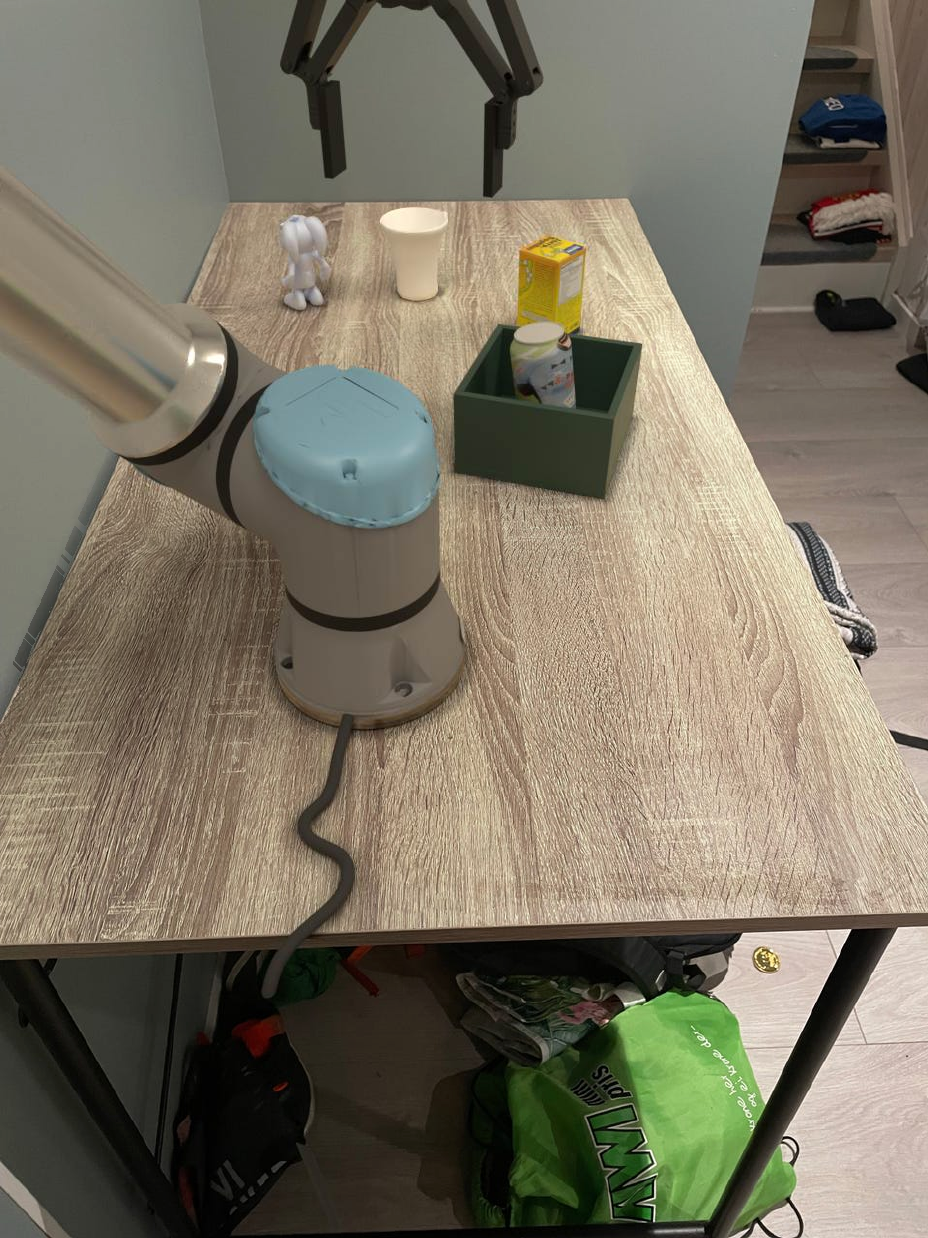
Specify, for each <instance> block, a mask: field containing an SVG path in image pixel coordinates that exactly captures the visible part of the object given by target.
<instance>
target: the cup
mask: <svg viewBox="0 0 928 1238" xmlns="http://www.w3.org/2000/svg"><path fill="white" fill-rule="evenodd" d="M448 218H449V213H448V211H446V210H443V211H441V210H438V209H434V208H431V207H420V206H417V207H416V206H410V207H409V206H408V207H401V208H395V209H393V210H390V211H387V212H386V213H384V214H382V216H381V217H380V219H379V226H380V228H381V230H382V232H383V234H384V236H385V237H386V240H387V242H388V245H389V249H390V254H391V256H392V260H393V263H394V270H395V275H396V283H397V284H396V285H397V287H396V288H397V293H398V295H399V296H400V297H401V298H402V299H404V300H407V301H410V302H411V301H412V302H415V301H416V302H420V301H426V300H430V299H433V298H434V297H436V296H437V294H438V292H439V284H438V269H439V266H438V265H439V264H438V263H439V254H440V250H441V244H442V240H443V237H444V235H445V232H446V229H447V228H448V225H449V219H448Z"/></svg>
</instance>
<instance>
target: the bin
mask: <svg viewBox="0 0 928 1238" xmlns="http://www.w3.org/2000/svg"><path fill="white" fill-rule="evenodd" d="M519 328H520V327H519V326H517V325H513V324H512V325H511V324H503V323H497V325H496V326H495V328H494V329H493V331H492V332H491V334H490V335H489V337H488V339H487V340H486V342H485V344H483V347H482V348H481V350H479V351H480V352H479V353H478V354H477V356H476V358H475V359H474V361H473V362H472V364H471V366H470V367H469V368H468V370H467V372H466V374H465V375H464V377H463V378H462V379H461V381H460V382H459V385H458V386H457V387H456V389H455V391H454V392H453V394H452V397H453V398H452V400H453V401H452V402H453V405H452V406H453V459H454V460H453V463H454V466H453V467H454V469H453V471H454V473H456V474H462V475H467V476H473V477H479V478H484V479H490V480H495V481H502V482H507V483H513V484H518V485H523V486H524V485H525V486H530V487H535V488H540V489H546V490H552V491H558V492H563V493H569V494H575V495H580V496H586V497H591V498H597V499H603V500H605V498H606V495H607V493H608V490H609V487H610V484H611V481H612V478H613V475H614V473H615V469H616V467H617V464H618V461H619V458H620V456H621V452H622V449H623V446H624V444H625V441H626V438H627V435H628V433H629V429H630V427H631V424H632V421H633V417H634V416H633V415H634V410H635V402H636V394H637V389H638V388H637V386H638V380H639V373H640V365H641V359H642V351H643V342H642V343H641V342H634V341H627V340H621V339H612V338H606V337H597V336H590V335H584V334H577V333H576V334H570V333H566V334H567V335H568V336H569V338H570V340H571V346H572V359H573V372H574V385H575V398H576V409H572V408H566V407H559V406H553V405H547V404H540V403H534V402H527V401H521V400H516V395H515V387H514V379H513V371H512V363H511V355H510V346H511V343H512V341H513V340H514V333H515V332H516V330H517V329H519Z"/></svg>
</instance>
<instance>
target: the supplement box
mask: <svg viewBox="0 0 928 1238" xmlns="http://www.w3.org/2000/svg"><path fill="white" fill-rule="evenodd" d="M586 253H587V246H586V245H584V244H581V243H577V242H575V241H570V240H567V239H563V238H560V237H557V236H554V235H549V234H547V235H545V236H543V237H541V238H539V239H538V240H537V239H536V241H533V242H532V243H530V244H528V245H526V246H523V247H522V248H519V250H518V281H517V282H518V283H517V285H518V286H517V315H516V316H517V318H516V326H519V327H522V326H525V325H527V324H530V323H535V322H543V321H548V322H556V323H559V324H561V325H562V326H563V327H564V332H565V333H570V334H577V333H579V332H580V330H581V329H580V328H581V317H582V305H583V304H582V303H583V291H584V281H585V280H584V279H585V266H586V256H587V255H586Z"/></svg>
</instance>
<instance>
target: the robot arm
mask: <svg viewBox="0 0 928 1238" xmlns="http://www.w3.org/2000/svg"><path fill="white" fill-rule="evenodd" d="M327 1H328V0H296V5H295V7H294V11H293V15H292V17H291V22H290V26H289V30H288V33H287V35H286V40H285V43H284V48H283V50H282V53H281V58H280V59H279V66H280V69H281V71H282V72H283V73H284V74H286V75H293V76H295V77H297V78H298V79H300V80H302V82H303V83H304V85H305V89H306V98H307V108H308V116H309V117H308V118H309V124H310V126H311V128H312V130H315V131H319V134H320V144H321V155H322V164H323V165H322V166H323V177H324V179H330V180H333V179H335V178H336V177H338V176H339V175H340V174H342V173H343V172H345V171H346V170H348V169H347V168H348V167H347V156H346V144H345V131H344V130H345V129H344V118H343V106H342V105H343V104H342V92H341V91H342V90H341V81H340V80H335V79H330V80H328V78H330V77H332V75H333V73H332V72H333V70H334V69H335V67H336V66H337V64H338V63H339V61H340V59H341V57H342V56H343V55H344V53H345V51H346V50H347V48H348V47H349V44H351V41H352V40H353V38H354V37H355V35H356V34H357V32H358V31H359V29H360V27H361V25H362V24H363V22H364V21H365V20H366V18H367V16H368V14H369V13H370V12H371V10H372V9H373V8H374V7H375V5H376V4H379V5H380V7H381V9H394V8H398V7H403V8H406V9H409V10H411V11H422V12H423V11H424V10H426V9H428V8H430V7H431V8H432V10H433V11H434V12H435V14H436V16H437V17H438V18H439V19H441V20H442V21H443V22H444V23H445V24H446V26H447V27H448V29H449V30H450V32H451V33H452V35H453V36H454V38H455V40H456V41H457V42H458V44H459V46H460V47H461V48H462V50H463V51H464V53H465V55H466V56H467V58H468V60H469V61H470V62H471V64H472V65H473V67H474V69H475V70H476V71H477V73H478V75H479V76H480V77H481V79H482V81H483V82H484V84H485V86H486V87H487V89H488V90H489V91H490V93H491V94H492V97H491V98H490V99H489V100H488V101H486V102H485V103H484V105H483V108H484V111H483V121H484V122H483V169H482V171H483V173H482V178H483V179H482V197H483V198H490V199H493V197H495V195H497V193H498V192H499V191H500V190H501V189H502V188H503V178H504V177H503V173H504V150H506V151H509V149H510V148H511V147H512V146H514V144H515V141H516V138H517V120H518V119H517V117H518V103H519V102H518V101H519V99H520V98H523V97H528V96H531V95H532V94H534V93H535V92H536V91H537V90H538V89H539V88H540V87H542V85H543V83H544V74H543V71H542V69H541V66H540V63H539V60H538V58H537V57H538V56H537V55H536V52H535V49H534V47H533V44H532V41H531V38H530V35H529V33H528V30H527V26H526V24H525V21H524V17H523V16H522V12H521V10H520V7H519V4H518V1H517V0H485V2H486V4H487V7H488V10H489V13H490V15H491V18H492V21H493V23H494V26H495V29H496V32H497V34H498V37H499V39H500V42H501V45H502V48H503V50H504V53H505V55H506V58H507V61H508V63H507V62H506V61H505V59H504V57H503V56H502V54H501V52H500V51H499V49H498V48H497V46H496V45H495V43H494V42H493V40H492V38H491V37H490V35H489V34H488V32H487V30H486V29H485V27H484V26H483V25H482V22H481V21H480V20H479V18H478V17H477V15H476V13H475V12H474V10H473V8H472V7H471V5H470V4H469V2H468V0H344V3H343V5H342V6H341V8H340V10H339V11H338V12H337V14H336V16H335V17H334V19H333V21H332V23H331V24H330V26H329V27H328V29H327V31H326V32H325V34H324V36H323V37H322V39H321V41H320V43H319V44H318V46H316V47H317V48H316V49H315V50H314V52H313V54H312V55H311V53H312V51H313V48H314V44H315V40H316V37H317V35H318V31H319V28H320V24H321V22H322V17H323V15H324V11H325V9H326V5H327ZM0 355H1V356H2V357H4V358H6V359H7V360H8V361H10V362H11V363H13V364H15V365H16V366H18V367H20V368H21V369H22V370H24V371H26V372H27V373H29V374H30V375H31V376H33V377H35V378H37V379H38V380H40V381H41V382H43V383H44V384H46V385H48V386H49V387H50V388H52V389H54V390H55V391H57V392H58V393H60V394H62V395H64V396H65V397H67V398H68V399H70V400H71V401H73V402H74V403H76V404H78V405H79V406H80V407H82V408H84V409H85V410H86V413H87V414H86V416H87V420H88V424H89V426H90V429H91V431H92V433H93V435H94V436H95V438H96V439H97V441H98V442H99V443H100V444H101V445H102V446H103V447H104V448H106V449H107V450H109V451H110V452H112V453H113V454H115V455H117V456H118V457H120V458H122V459H124V461H127V462H128V463H129V464H130V465H132V466H133V467H134V469H135V471H137V472H138V473H140V474H141V475H142V476H144V477H146V478H147V479H149V480H151V481H153V482H155V483H157V484H159V485H161V486H164V487H166V488H169V489H172V490H174V491H176V492H178V493H179V494H182V495H183V496H184V497H186V498H188V499H190V500H192V501H194V502H195V503H198V504H199V505H201V506H202V507H205V508H206V509H209V510H210V511H212V512H214V513H215V514H217V515H220V517H223V518H224V519H226V520H228V521H230V522H232V523H234V524H236V525H237V526H238V527H240V528H242V529H244V530H245V531H247V532H249V533H251V534H253V535H255V536H256V537H258V538H260V539H262V540H263V541H265V542H267V543H269V544H270V545H272V546H273V548H274V549H275V551H276V552H277V554H278V559H279V565H280V570H281V573H282V574H281V575H282V580H283V584H284V589H285V590H284V591H285V597H284V601H283V606H282V609H281V614H280V618H279V622H278V626H277V631H276V634H275V638H274V643H273V660H274V666H275V670H276V675H277V678H278V683H279V685H280V687H281V689H282V691H283V693H284V695H285V696H286V697H287V699H288V700H289V701H290V702H291V703H292V705H294V706H295V707H296V708H297V709H299V711H301V712H302V713H303V714H305V715H307V716H309V717H310V718H312V719H314V720H317V721H319V722H321V723H324V724H327V725H331V726H334V727H338V730H337V735H336V738H335V742H334V746H333V749H332V753H331V758H330V762H329V768H328V773H327V778H326V782H325V784H324V788H323V790H322V791H321V794H319V796H318V797H317V798H316V799H315V800H314V801H313V802H311V803H310V804H309V805H308V806H307V807H306V808H305V809H304V810H303V811H302V813H301V814H300V816H299V817H298V820H297V826H296V827H297V832H298V835H299V837H300V839H301V840H302V842H303V843H305V845H306V846H307V847H310V848H311V849H312V850H315V852H318V853H321V854H323V855H324V856H327V857H329V858H331V859H333V860H334V861H335V862H336V863H338V865H339V866H340V879H339V883H338V885H337V887H336V890H335V891H334V893H333V894H332V895H331V897H330V898H329V899H328V900H327V901H326V902H325V903H324V904H322V905H321V906H320V907H319V908H318V909H317V910H315V912H313V914H311V915H310V916H309V917H307V918H306V919H305V920H304V921H303V922H302V923H301V924H300V925H298V927H296V928H295V929H294V930H293V931H292V932H291V933H290V934H289V935H288V936H287V937H286V939H285V940H284V941H283V942H282V944H280V946H279V947H278V949H277V950H276V952H275V954H274V955H273V957H272V959H271V960H270V963H269V965H268V968H267V970H266V972H265V975H264V978H263V982H262V986H261V991H260V992H261V996H262V998H264V999H266V1000H267V999H270V998H272V997H273V996H274V995H276V992H277V988H278V986H279V982H280V978H281V976H282V973H283V971H284V968H285V966H286V964H287V963H288V961H289V960H290V958H291V957H292V955H293V954H294V953H295V951H296V950H297V949H298V948H299V947H300V946H301V944H303V943H304V941H306V940H307V939H308V938H309V937H311V935H312V934H313V933H314V932H316V930H318V929H319V928H320V927H321V926H323V925H324V924H325V923H326V922H327V921H328V920H329V919H331V917H333V915H335V914H336V913H337V912H338V911H339V910H340V908H341V907H342V906H343V904H344V903H345V902H346V900H347V899H348V897H349V896H350V894H351V892H352V889H353V886H354V882H355V874H356V873H355V872H356V869H355V864H354V860H353V858H352V857H351V855H350V853H348V852H347V851H346V849H344V848H342V846H339V845H338V844H335V843H334V842H332V841H329V840H327V839H325V838H323V837H321V836H320V835H318V834H316V833H315V832H313V830H312V826H311V825H312V824H311V823H312V821H313V820H314V819H315V818H316V817H317V816H318V815H319V814H320V813H322V812H323V811H324V810H325V809H326V808H327V807H328V806H329V805H330V804H331V802H332V801H333V799H334V797H335V795H336V793H337V790H338V787H339V785H340V781H341V778H342V777H341V776H342V772H343V763H344V759H345V755H346V750H347V747H348V743H349V739H350V735H351V731H352V730H375V729H384V728H389V727H394V726H398V725H403V724H404V723H408V722H411V721H413V720H415V719H418V718H420V717H421V716H423V715H426V714H427V713H429V712H431V711H432V710H433V709H435V708H437V706H439V705H440V704H441V703H443V702H444V701H445V700H446V699H447V697H449V696H450V694H451V693H452V692H453V691H454V690H455V688H456V687H457V685H458V683H459V681H460V679H461V678H462V675H463V673H464V669H465V665H466V664H465V663H466V645H467V640H466V633H465V627H464V626H465V625H464V620H463V619H464V618H463V616H462V614H461V612H460V609H459V608H457V609H458V613H457V611H456V609H455V607H454V605H453V602H452V600H451V598H450V596H449V594H448V591H447V589H446V587H445V585H444V583H443V581H442V578H441V545H440V544H441V543H440V542H441V541H440V540H441V539H440V538H441V537H440V536H441V535H440V532H441V531H440V480H441V469H440V457H439V453H438V451H437V450H438V449H437V447H436V437H435V430H434V425H433V422H432V419H431V416H430V414H429V412H428V410H427V408H426V407H425V405H424V404H423V402H422V401H421V400H420V399H419V398H420V397H418V396H417V395H416V394H415V392H413V391H412V390H411V389H409V388H408V387H407V386H406V385H404V384H403V383H401V382H400V381H398V380H396V379H395V378H393V377H391V376H389V375H386V374H384V373H383V372H380V371H376V370H373V369H371V368H366V367H361V366H356V365H350V366H348V368H345V369H340V368H338V367H337V366H336V364H319V365H313V366H306V367H302V368H299V369H296V370H293V371H290V372H288V371H285V370H283V369H280V368H279V367H276V366H273V365H272V364H271V363H268V362H266V361H264V360H263V359H261V358H260V357H259V356H257V355H256V354H255V353H253V352H252V351H251V350H250V349H249V348H247V346H245V345H244V344H243V343H242V342H241V341H240V340H239V339H237V338H236V337H235V336H234V335H233V334H232V333H231V332H229V330H227V329H226V328H225V327H224V326H223V325H222V324H221V323H219V321H217V320H216V319H215V318H214V317H213V316H212V315H211V314H209V313H208V312H207V311H206V310H205V309H203V308H201V307H200V306H197V305H194V304H190V303H185V302H169V303H163V302H162V301H161V300H159V299H158V298H157V297H156V296H155V295H154V294H153V293H151V291H149V290H148V289H147V288H145V287H144V285H142V284H141V283H140V282H139V281H137V279H135V278H134V277H133V276H132V275H131V274H129V273H128V272H127V271H126V270H125V269H124V268H122V267H121V266H120V264H118V263H117V262H116V261H115V260H113V259H112V258H111V257H110V256H109V255H107V254H106V253H105V252H104V251H103V250H102V249H101V248H99V247H98V246H97V245H96V244H95V243H94V242H92V241H91V240H90V239H89V238H88V237H87V236H85V235H84V234H83V233H82V232H81V231H79V229H77V228H76V226H74V225H73V224H72V223H71V222H69V221H68V219H66V218H65V217H63V215H61V214H60V213H59V212H58V211H57V210H55V208H53V207H52V206H51V205H49V203H47V202H46V201H45V200H44V199H43V198H42V197H41V196H39V195H38V194H37V193H36V192H35V191H33V189H31V188H30V187H29V186H28V185H27V184H26V183H24V182H23V181H22V180H21V179H20V178H19V177H18V176H16V175H15V174H14V173H13V172H12V171H11V170H9V169H8V168H7V167H6V166H5V165H4V164H2V163H1V162H0ZM295 1143H296V1147H297V1149H298V1152H299V1154H300V1157H301V1159H302V1161H303V1163H304V1166H305V1168H306V1170H307V1172H308V1175H309V1177H310V1179H311V1182H312V1183H313V1186H314V1188H315V1191H316V1193H317V1195H318V1197H319V1200H320V1202H321V1204H322V1207H323V1209H324V1212H325V1214H326V1217H327V1221H328V1223H329V1226H330V1229H331V1231H333V1232H339V1230H340V1229H341V1221H340V1218H339V1215H338V1212H337V1208H336V1206H335V1203H334V1201H333V1198H332V1196H331V1193H330V1190H329V1188H328V1186H327V1183H326V1181H325V1179H324V1176H323V1174H322V1171H321V1169H320V1166H319V1164H318V1162H317V1159H316V1157H315V1154H314V1152H313V1148H312V1147H310V1146H307V1145H304V1144H302V1143H299V1142H295Z"/></svg>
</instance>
